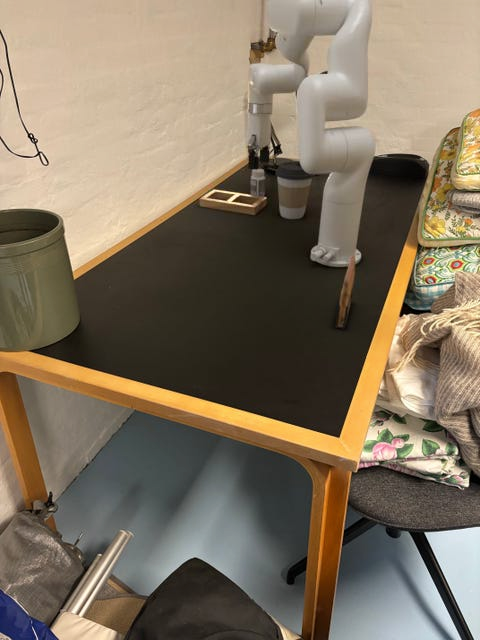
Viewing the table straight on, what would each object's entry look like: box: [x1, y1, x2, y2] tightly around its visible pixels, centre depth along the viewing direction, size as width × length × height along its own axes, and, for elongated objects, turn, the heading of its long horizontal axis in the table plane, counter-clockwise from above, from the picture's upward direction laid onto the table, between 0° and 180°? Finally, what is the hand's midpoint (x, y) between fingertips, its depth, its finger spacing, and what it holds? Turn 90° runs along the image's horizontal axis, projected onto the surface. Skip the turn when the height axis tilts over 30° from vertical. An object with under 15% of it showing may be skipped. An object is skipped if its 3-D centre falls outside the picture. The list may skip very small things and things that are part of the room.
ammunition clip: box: [335, 254, 356, 330], centre depth 101 cm, size 11×2×12 cm, turn 163°
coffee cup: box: [275, 160, 315, 220], centre depth 149 cm, size 11×11×15 cm
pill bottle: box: [250, 168, 266, 197], centre depth 166 cm, size 5×5×8 cm
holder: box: [198, 189, 268, 216], centre depth 159 cm, size 10×19×2 cm, turn 67°
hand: (259, 165), depth 162 cm, fingers open, 9 cm apart
